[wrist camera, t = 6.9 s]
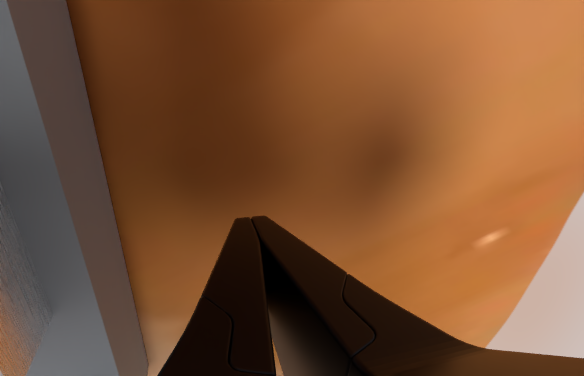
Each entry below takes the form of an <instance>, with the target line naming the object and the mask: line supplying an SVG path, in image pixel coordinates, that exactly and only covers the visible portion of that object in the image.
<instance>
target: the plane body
mask: <svg viewBox="0 0 584 376" xmlns="http://www.w3.org/2000/svg"><path fill="white" fill-rule="evenodd" d="M0 182H1V185H2V187H3V190H4V192H5V195H6V198H7V200H8V203H9V205H10V208H11V210H12V213H13V215H14V218H15V220H16V223H17V225H18V228H19V230H20V233H21V235H22V238H23V240H24V243H25V245H26V248H27V250H28V253H29V255H30V258H31V260H32V263H33V265H34V268H35V270H36V273H37V275H38V278H39V280H40V283H41V285H42V288H43V290H44V293H45V295H46V298H47V300H48V303H49V305H50V308H51V310H52V313H53V317H52V320H51V322H50V324H49V326H48V328H47V330H46V333H45V335H44V337H43V339H42V341H41V343H40V346H39V348H38V350H37V352H36V354H35V357H34V359H33V361H32V363H31V365H30V367H29V370H28V372H27V374H26V376H147V374H148V361H147V357H146V352H145V348H144V343H143V339H142V335H141V330H140V326H139V321H138V317H137V312H136V308H135V304H134V299H133V295H132V290H131V286H130V281H129V277H128V273H127V268H126V264H125V259H124V255H123V250H122V246H121V242H120V237H119V233H118V228H117V224H116V219H115V215H114V211H113V206H112V202H111V197H110V193H109V188H108V184H107V180H106V175H105V171H104V166H103V162H102V157H101V153H100V149H99V144H98V140H97V135H96V131H95V126H94V122H93V118H92V113H91V109H90V104H89V100H88V96H87V91H86V87H85V82H84V78H83V73H82V69H81V65H80V60H79V56H78V51H77V47H76V42H75V38H74V34H73V29H72V25H71V20H70V16H69V11H68V7H67V3H66V0H0Z"/></svg>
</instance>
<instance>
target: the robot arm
mask: <svg viewBox="0 0 584 376" xmlns="http://www.w3.org/2000/svg"><path fill="white" fill-rule="evenodd" d="M272 339H273V342H274V345H275V349H276V352H277V355H278V358H279V361H280V364H281V368H282V371H283V374H284V376H584V358H573V357H563V356H553V355H542V354H531V353H522V352H512V351H501V350H492V349H486V348H481V347H477V346H474V345H471V344H468V343H465V342H463V341H461V340H458V339H456V338H455V337H453V336H451V335H449V334H447V333H445V332H444V331H442V330H440V329H438V328H437V327H435V326H433V325H431V324H430V323H428V322H426V321H424V320H423V319H421V318H419V317H417V316H416V315H414V314H412V313H410V312H409V311H407V310H405V309H403V308H402V307H400V306H398V305H396V304H395V303H393V302H391V301H390V300H388V299H386V298H385V297H383V296H381V295H380V294H378V293H377V292H375V291H374V290H372V289H371V288H369V287H368V286H366V285H364V284H363V283H361V282H360V281H359V280H357V279H356V278H354V277H353V276H351V275H350V274H348V275H347V272H345V271H344V270H343V269H341V268H340V267H338V266H337V265H335V264H334V263H333V262H331V261H330V260H328V259H327V258H325V257H324V256H323V255H321V254H320V253H318V252H317V251H315V250H314V249H312V248H311V247H310V246H308V245H307V244H305V243H304V242H302V241H301V240H300V239H298V238H297V237H295V236H294V235H292V234H291V233H290V232H288V231H287V230H285V229H284V228H282V227H281V226H280V225H278V224H277V223H275V222H274V221H272V220H271V219H269V218H268V217H267V216H255V217H252V218H251V219H250V218H249V217H244V218H236V219H235V220H234V223H233V225H232V227H231V229H230V232H229V234H228V236H227V239H226V241H225V243H224V245H223V248H222V250H221V252H220V254H219V257H218V259H217V261H216V264H215V266H214V268H213V270H212V273H211V275H210V277H209V279H208V282H207V284H206V286H205V289H204V291H203V293H202V296H201V298H200V300H199V302H198V304H197V306H196V309H195V311H194V313H193V315H192V317H191V319H190V321H189V323H188V325H187V327H186V329H185V331H184V333H183V334H182V336H181V338H180V339H179V341H178V343H177V345H176V346H175V348H174V350H173V351H172V353H171V355H170V356H169V358H168V359H167V361H166V363H165V364H164V366H163V368H162V369H161V371H160V372H159V374H158V376H276V368H275V360H274V352H273V344H272Z"/></svg>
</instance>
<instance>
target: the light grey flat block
mask: <svg viewBox="0 0 584 376" xmlns="http://www.w3.org/2000/svg"><path fill="white" fill-rule="evenodd" d="M52 317H53V313H52V310H51V308H50V305H49V303H48V300H47V298H46V295H45V293H44V290H43V288H42V285H41V283H40V280H39V278H38V275H37V273H36V270H35V268H34V265H33V263H32V260H31V258H30V255H29V253H28V250H27V248H26V245H25V243H24V240H23V238H22V235H21V233H20V230H19V228H18V225H17V223H16V220H15V218H14V215H13V213H12V210H11V208H10V205H9V203H8V200H7V198H6V195H5V192H4V190H3V187H2V185H1V182H0V376H26V374H27V372H28V370H29V367H30V365H31V363H32V361H33V359H34V357H35V354H36V352H37V350H38V348H39V346H40V343H41V341H42V339H43V337H44V335H45V333H46V330H47V328H48V326H49V324H50V322H51V320H52Z"/></svg>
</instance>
